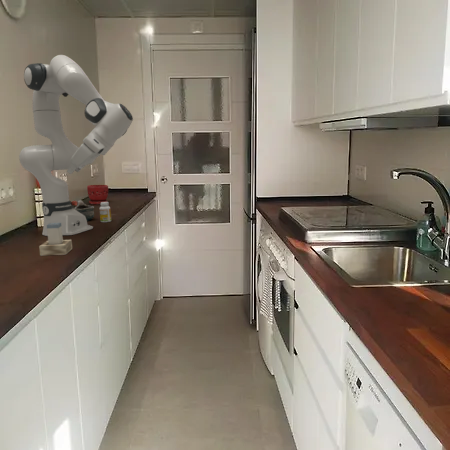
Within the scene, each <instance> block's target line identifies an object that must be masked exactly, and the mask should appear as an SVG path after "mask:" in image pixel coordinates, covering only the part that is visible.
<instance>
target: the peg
mask: <svg viewBox="0 0 450 450" xmlns="http://www.w3.org/2000/svg"><path fill="white" fill-rule="evenodd" d="M47 234H48V236H47V241H48V243H49V245H60V244H63V240H64V237H63V235H62V227H61V223H49V224H48V225H47Z"/></svg>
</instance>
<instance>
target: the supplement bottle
mask: <svg viewBox="0 0 450 450" xmlns="http://www.w3.org/2000/svg"><path fill="white" fill-rule="evenodd" d="M109 203H110V202H109V201H107V202H101V203H100V204H99V205H100V206H99V209H98V210H99V221H100V222H101V223H110V222H112V212H111V207H110V206H109V205H110V204H109Z"/></svg>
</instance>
